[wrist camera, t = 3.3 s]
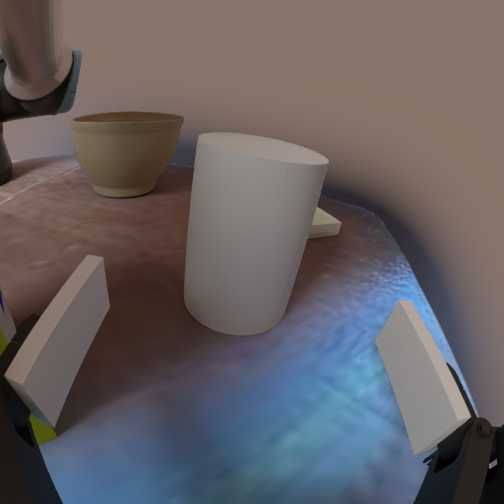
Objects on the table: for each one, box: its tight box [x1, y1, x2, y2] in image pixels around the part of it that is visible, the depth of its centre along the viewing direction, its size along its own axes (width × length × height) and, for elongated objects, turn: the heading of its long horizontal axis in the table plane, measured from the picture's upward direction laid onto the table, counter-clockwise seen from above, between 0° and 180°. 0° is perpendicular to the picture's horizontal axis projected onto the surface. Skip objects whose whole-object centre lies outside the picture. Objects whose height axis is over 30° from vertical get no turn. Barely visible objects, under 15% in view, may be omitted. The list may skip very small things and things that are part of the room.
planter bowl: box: [71, 112, 184, 197], centre depth 37 cm, size 16×16×11 cm
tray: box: [308, 207, 342, 239], centre depth 39 cm, size 14×14×2 cm
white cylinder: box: [184, 132, 329, 336], centre depth 20 cm, size 8×8×12 cm
